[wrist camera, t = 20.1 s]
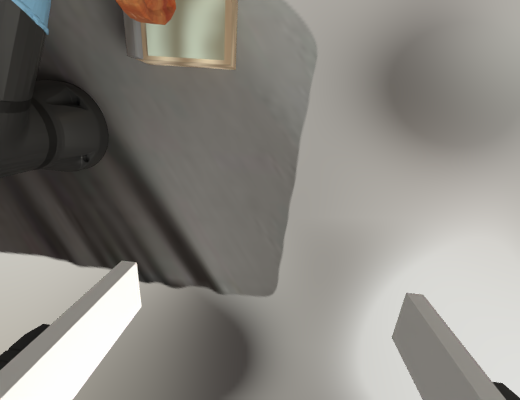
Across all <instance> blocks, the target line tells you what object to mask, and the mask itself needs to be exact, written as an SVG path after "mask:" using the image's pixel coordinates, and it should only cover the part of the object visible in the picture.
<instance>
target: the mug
mask: <svg viewBox="0 0 520 400" xmlns="http://www.w3.org/2000/svg"><path fill="white" fill-rule="evenodd" d="M116 2H117V3H118V5H119V6H120V7H121V8H122V10H123V11H124V12H125V13H126V14H127V15H128V16H129V17H130V18H132V19H134V20H136V21H138V22H141V23H149V24H159V25H166V24H167V23H168V22H169V21H170V20H171V18H172V16H173V14H174V12H175V10H176V2H175V0H116Z"/></svg>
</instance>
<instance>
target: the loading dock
mask: <svg viewBox="0 0 520 400" xmlns="http://www.w3.org/2000/svg"><path fill="white" fill-rule="evenodd" d="M175 2H176V10H175V12H174V14H173V16H172V18H171V20H170V21H169V22H168V23H167V24H166V25H159V24H149V23H141V22H138V21H136V20H134V19H132V18H130V17H129V16H128V15H127V14H126V13H125V12H124V11H123V17H124V27H125V38H126V48H127V56H129V57H132V58H135V59H137V60H140V61H142V62H145V63H147V64H151V65H167V66H183V67H199V68H215V69H232V70H236V40H237V8H238V0H175Z"/></svg>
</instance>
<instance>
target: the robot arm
mask: <svg viewBox="0 0 520 400" xmlns="http://www.w3.org/2000/svg"><path fill="white" fill-rule="evenodd" d="M50 7H51V0H0V178H1V177H5V176H10V175H14V174H18V173H23V172H27V171H31V170H35V169H46V170H55V171H65V172H73V171H79V170H83V169H87V168H90V167H92V166H94V165H95V164H97V163H98V162H99V161H100V160H101V159H102V157H103V156H104V154H105V152H106V149H107V145H108V129H107V125H106V121H105V119H104V116H103V114H102V112H101V110H100V109H99V107H98V106H97V104H96V103H95V102H94V100H93V99H92V98H91V97H90V96H89V95H88V94H87V93H85V92H84V91H83V90H81V89H80V88H78V87H76V86H74V85H72V84H69V83H66V82H60V81H54V80H39V81H36V78H37V73H38V69H39V64H40V60H41V55H42V51H43V46H44V42H45V37H46V34H47V35H48V34H49V29H48V28H47V25H48V19H49V13H50ZM140 308H141V298H140V289H139V280H138V271H137V263H136V262H127V261H121V262H120V263H119V264H118V265H117V266H116V267H114V268H113V269H112V270H111V271H110V272H109V273H108V274H107V275H106V276H105V277H103V278H102V279H101V280H100V281H99V282H98V283H97V284H96V285H94V287H92V288H91V289H90V290H89V291H88V292H87V293H86V294H84V296H82V297H81V298H80V299H79V300H78V301H77V302H76V303H74V304H73V305H72V306H71V307H70V308H69V309H68V310H67V311H66V312H65V313H63V314H62V315H61V316H60V317H59V318H58V319H57V320H56V321H55V322H53V323H52V324H51V325H47V324H42V325H41V326H39V327H37V328H35V329H34V330H32V331H30V332H29V333H27V334H25V335H24V336H23V337H21V338H20V339H19V340H18V341H17V342H16V343H14V344H13V345H12V346H11V347H10V348H9V350H8V351H5V352H4V353H3V354H1V355H0V400H73V398H74V397H75V396H76V394H77V393H78V391H79V390H80V389H81V387H82V386H83V385H84V383H85V382H86V381H87V379H88V378H89V377H90V375H91V374H92V373H93V371H94V370H95V369H96V367H97V366H98V364H99V363H100V362H101V360H102V359H103V358H104V356H105V355H106V354H107V352H108V351H109V350H110V348H111V347H112V346H113V344H114V343H115V342H116V340H117V339H118V337H119V336H120V334H121V333H122V332H123V331H124V329H125V328H126V327H127V325H128V324H129V323H130V321H131V320H132V319H133V317H134V316H135V315H136V313H137V312H138V310H139V309H140ZM392 339H393V341H394V343H395V345H396V347H397V348H398V351H399V353H400V355H401V357H402V359H403V361H404V363H405V365H406V366H407V369H408V371H409V373H410V375H411V377H412V379H413V381H414V383H415V385H416V387H417V389H418V391H419V393H420V395H421V397H422V399H423V400H520V398H519V397H518V396H517V395H516V394H514V393H513V392H512V391H511V390H509V388H507V387H506V386H505V385H504V384H503V383H497V382H491V380H490V379H489V377H488V376H487V375H486V374H485V372H484V371H483V370H482V369H481V367H480V366H479V365H478V364H477V362H476V361H475V360H474V358H473V357H472V356H471V355H470V353H469V352H468V351H467V350H466V348H465V347H464V346H463V345H462V343H461V342H460V341H459V339H458V338H457V337H456V336H455V334H454V333H453V332H452V331H451V330H450V328H449V327H448V326H447V324H446V323H445V322H444V320H443V319H442V318H441V317H440V316H439V314H438V313H437V312H436V310H435V309H434V308H433V307H432V305H431V304H430V303H429V302H428V300H427V299H426V298H425V297H424V295H421V294H412V293H406V296H405V298H404V302H403V305H402V308H401V311H400V314H399V317H398V320H397V323H396V326H395V329H394V333H393V335H392Z"/></svg>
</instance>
